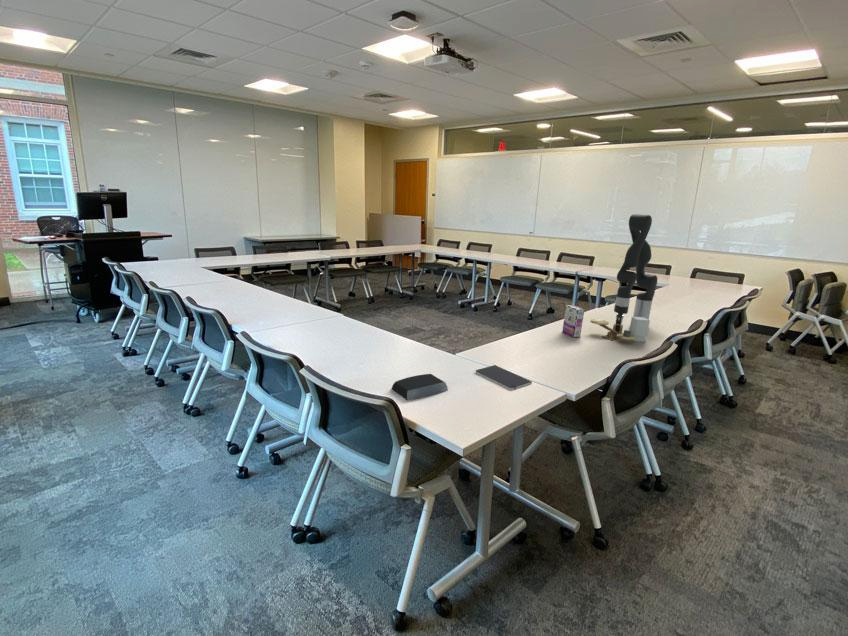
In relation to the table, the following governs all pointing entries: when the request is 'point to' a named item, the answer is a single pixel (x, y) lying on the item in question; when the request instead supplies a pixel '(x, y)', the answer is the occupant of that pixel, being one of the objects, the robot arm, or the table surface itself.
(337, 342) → the table surface
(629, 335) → the balance
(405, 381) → the external hard drive
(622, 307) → the robot arm
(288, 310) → the table surface
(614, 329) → the walnut block
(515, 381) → the notebook
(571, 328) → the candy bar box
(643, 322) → the supplement box
